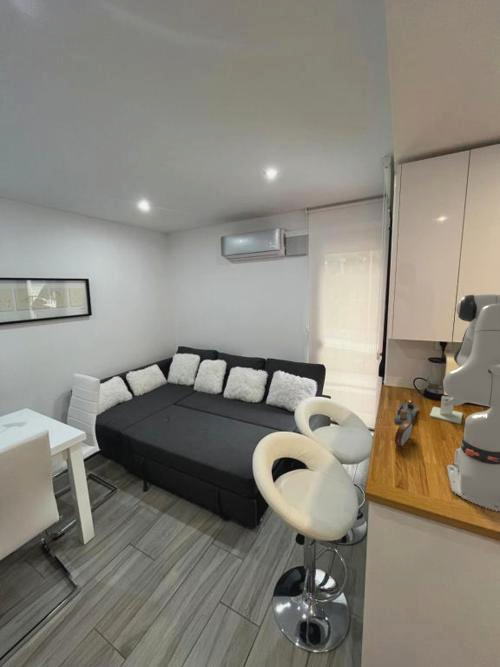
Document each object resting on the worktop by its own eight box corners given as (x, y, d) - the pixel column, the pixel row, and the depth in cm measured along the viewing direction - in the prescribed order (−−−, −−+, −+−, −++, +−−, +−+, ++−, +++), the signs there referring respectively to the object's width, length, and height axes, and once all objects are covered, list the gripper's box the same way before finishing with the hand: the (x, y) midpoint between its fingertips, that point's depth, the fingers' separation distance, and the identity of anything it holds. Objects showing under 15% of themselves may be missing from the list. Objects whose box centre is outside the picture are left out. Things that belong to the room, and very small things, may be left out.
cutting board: (460, 424, 133) (461, 422, 133) (429, 416, 142) (429, 415, 141) (462, 414, 143) (462, 412, 143) (433, 407, 151) (433, 406, 151)
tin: (405, 433, 127) (406, 417, 125) (412, 436, 124) (414, 419, 123) (393, 447, 117) (394, 429, 115) (401, 450, 114) (402, 431, 113)
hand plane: (409, 426, 132) (410, 414, 131) (394, 422, 137) (394, 410, 136) (418, 410, 149) (418, 399, 148) (403, 407, 153) (404, 396, 152)
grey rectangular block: (451, 416, 139) (453, 400, 137) (439, 414, 142) (441, 398, 141) (452, 413, 142) (453, 397, 140) (440, 411, 145) (442, 395, 144)
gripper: (467, 377, 142) (443, 390, 150) (465, 388, 127) (438, 403, 135) (477, 386, 140) (452, 400, 148) (476, 400, 125) (448, 413, 133)
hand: (445, 401), depth 141 cm, fingers open, 8 cm apart
